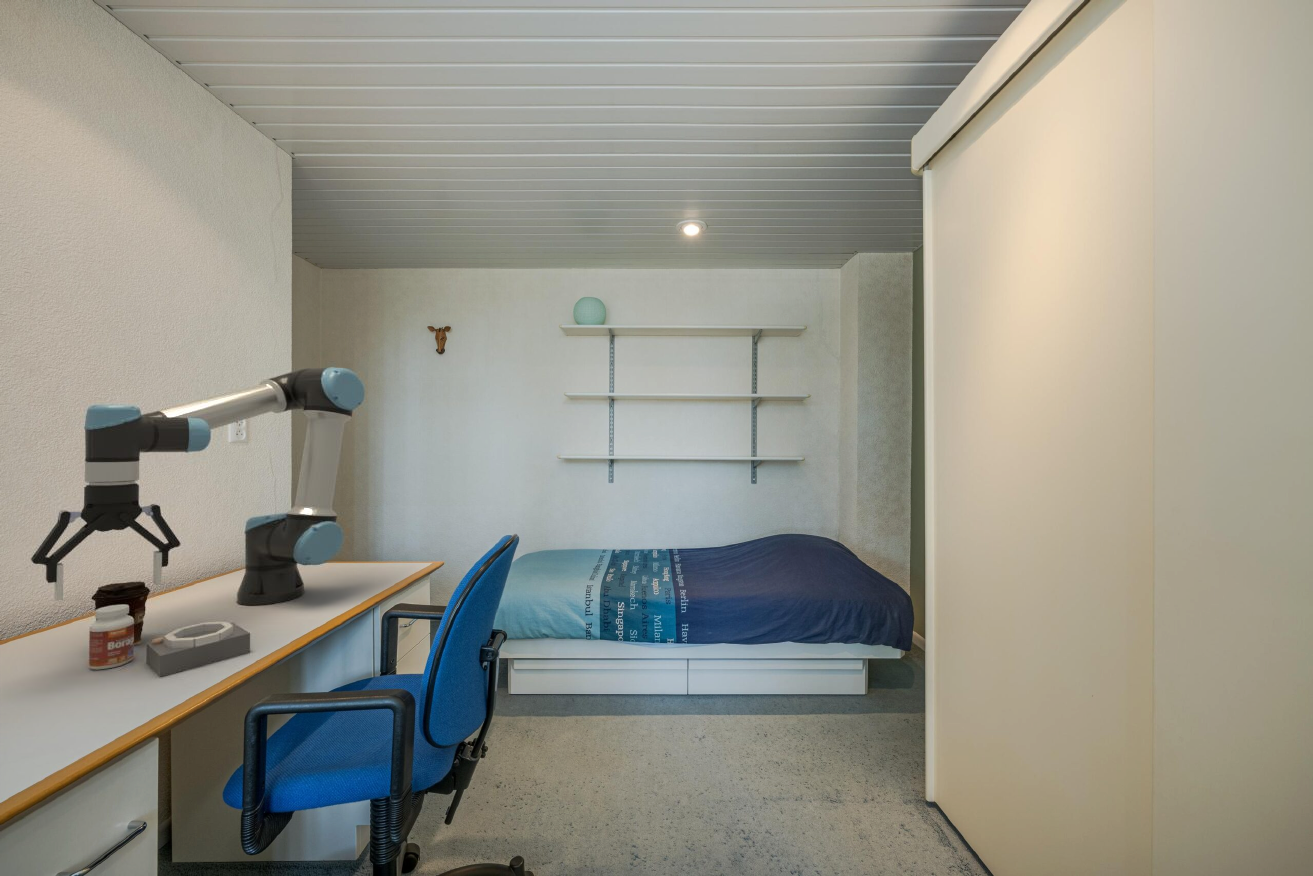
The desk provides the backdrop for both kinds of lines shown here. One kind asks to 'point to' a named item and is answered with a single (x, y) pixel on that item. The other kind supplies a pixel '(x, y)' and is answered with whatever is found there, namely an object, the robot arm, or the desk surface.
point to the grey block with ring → (196, 647)
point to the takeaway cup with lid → (125, 601)
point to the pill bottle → (111, 637)
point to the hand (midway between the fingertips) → (110, 591)
